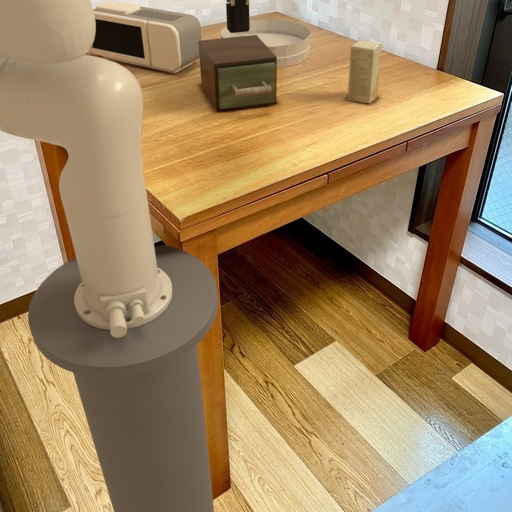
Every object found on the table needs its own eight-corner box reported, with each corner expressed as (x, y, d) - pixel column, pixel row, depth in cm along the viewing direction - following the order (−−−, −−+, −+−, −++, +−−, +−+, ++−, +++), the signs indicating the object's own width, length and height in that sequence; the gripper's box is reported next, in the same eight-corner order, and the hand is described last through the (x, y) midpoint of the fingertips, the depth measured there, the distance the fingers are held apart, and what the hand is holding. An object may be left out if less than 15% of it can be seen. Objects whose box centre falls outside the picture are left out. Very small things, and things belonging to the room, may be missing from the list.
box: (377, 97, 124) (384, 43, 117) (369, 104, 121) (375, 49, 114) (354, 92, 126) (359, 39, 119) (345, 99, 123) (350, 45, 116)
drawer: (281, 110, 117) (282, 71, 112) (225, 117, 115) (223, 78, 110) (257, 78, 131) (256, 42, 126) (206, 84, 128) (203, 48, 123)
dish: (214, 41, 153) (213, 21, 150) (297, 35, 157) (298, 16, 154) (227, 72, 136) (227, 50, 133) (321, 64, 139) (322, 43, 136)
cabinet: (276, 103, 122) (276, 56, 116) (216, 111, 119) (213, 63, 113) (256, 78, 133) (256, 34, 127) (201, 85, 130) (198, 40, 124)
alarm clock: (89, 58, 145) (80, 6, 138) (115, 46, 151) (107, -3, 144) (180, 77, 134) (175, 23, 127) (203, 64, 140) (200, 12, 133)
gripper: (196, -113, 86) (204, 19, 97) (220, -100, 74) (226, 48, 86) (246, -115, 87) (248, 15, 99) (277, -103, 76) (276, 43, 87)
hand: (238, 30), depth 92 cm, fingers closed
